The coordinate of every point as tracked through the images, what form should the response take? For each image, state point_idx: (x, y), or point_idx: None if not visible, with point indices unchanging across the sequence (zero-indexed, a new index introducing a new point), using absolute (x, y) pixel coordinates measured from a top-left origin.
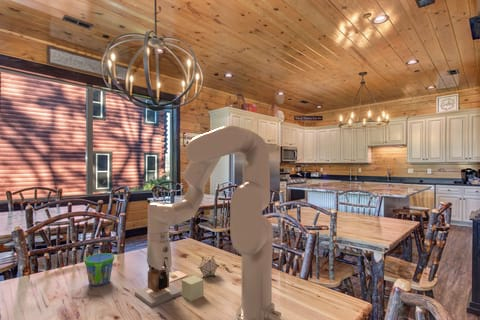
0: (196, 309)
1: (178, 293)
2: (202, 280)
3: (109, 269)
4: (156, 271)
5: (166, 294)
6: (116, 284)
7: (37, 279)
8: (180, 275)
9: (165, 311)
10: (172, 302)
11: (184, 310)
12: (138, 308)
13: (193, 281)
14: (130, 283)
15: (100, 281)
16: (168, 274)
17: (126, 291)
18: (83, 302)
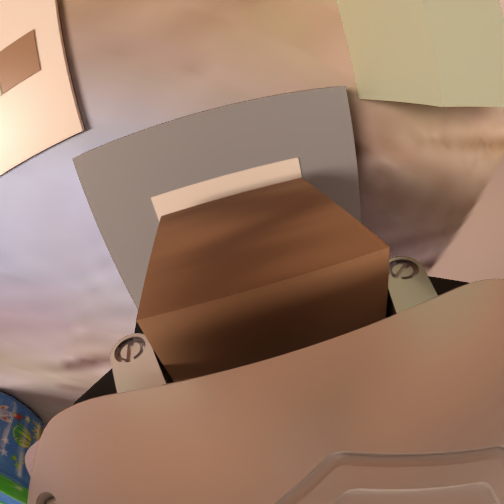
0: (487, 121)
1: (347, 115)
2: (495, 2)
3: (4, 445)
4: None
5: None
6: (28, 380)
7: None
8: (22, 12)
9: (426, 242)
10: (387, 183)
11: (468, 167)
12: None
13: (498, 60)
14: (22, 337)
15: (38, 432)
16: (362, 232)
17: (108, 368)
18: None
